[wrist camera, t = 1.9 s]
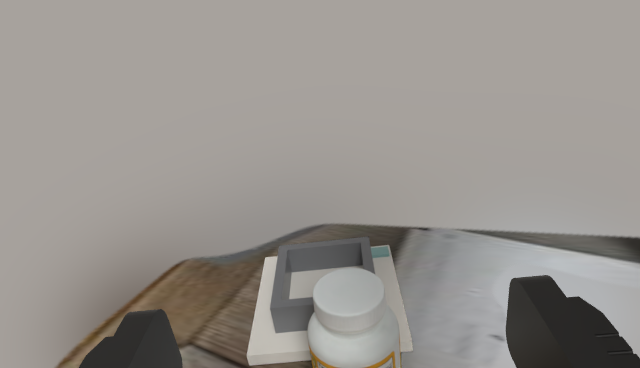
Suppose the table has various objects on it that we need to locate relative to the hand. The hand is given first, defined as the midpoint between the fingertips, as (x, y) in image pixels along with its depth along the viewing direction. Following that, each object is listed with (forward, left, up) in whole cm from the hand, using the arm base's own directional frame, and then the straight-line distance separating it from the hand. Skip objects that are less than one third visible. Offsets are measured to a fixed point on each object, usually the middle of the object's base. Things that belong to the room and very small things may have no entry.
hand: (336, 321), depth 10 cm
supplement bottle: (0, -11, -18) cm, 22 cm away
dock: (+2, -21, -18) cm, 28 cm away
